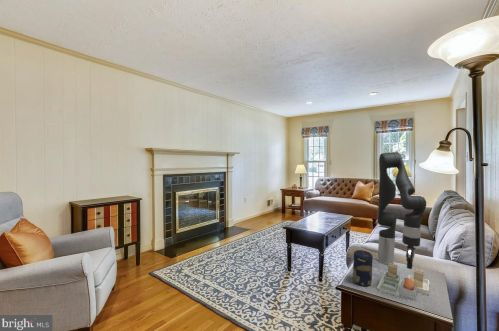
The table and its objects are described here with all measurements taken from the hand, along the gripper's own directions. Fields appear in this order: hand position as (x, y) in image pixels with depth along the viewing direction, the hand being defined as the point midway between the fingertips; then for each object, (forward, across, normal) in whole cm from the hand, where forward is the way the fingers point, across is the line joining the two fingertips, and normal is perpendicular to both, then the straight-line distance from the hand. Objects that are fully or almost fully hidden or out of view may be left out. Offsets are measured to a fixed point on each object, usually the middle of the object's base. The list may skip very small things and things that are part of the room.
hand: (409, 268), depth 125 cm
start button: (+12, 0, 0) cm, 12 cm away
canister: (+14, +3, -21) cm, 26 cm away
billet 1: (+12, -10, -8) cm, 18 cm away
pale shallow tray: (+14, -12, +4) cm, 19 cm away
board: (+14, -4, -8) cm, 17 cm away
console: (+14, 0, 0) cm, 14 cm away
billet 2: (+13, -12, +4) cm, 18 cm away
